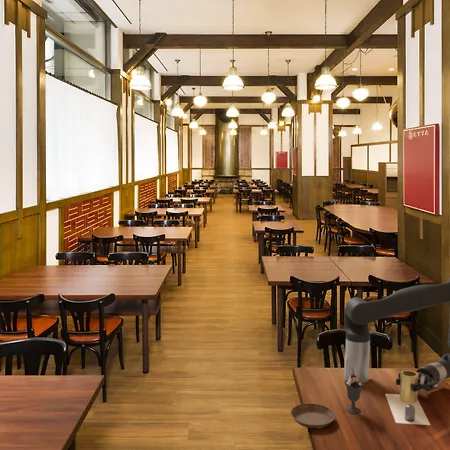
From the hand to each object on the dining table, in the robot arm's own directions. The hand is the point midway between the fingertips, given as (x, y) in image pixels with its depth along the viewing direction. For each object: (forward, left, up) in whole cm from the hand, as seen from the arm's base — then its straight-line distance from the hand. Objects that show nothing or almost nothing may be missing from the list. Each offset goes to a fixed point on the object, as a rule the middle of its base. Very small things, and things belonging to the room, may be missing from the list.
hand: (404, 385), depth 192 cm
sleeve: (+2, +2, -6) cm, 6 cm away
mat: (0, -5, -7) cm, 9 cm away
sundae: (-19, -7, -7) cm, 21 cm away
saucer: (-33, -16, -8) cm, 38 cm away
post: (-1, -13, -7) cm, 15 cm away
